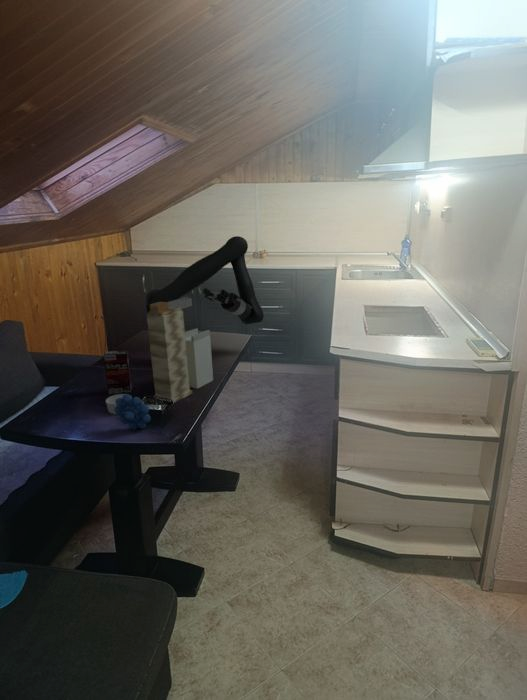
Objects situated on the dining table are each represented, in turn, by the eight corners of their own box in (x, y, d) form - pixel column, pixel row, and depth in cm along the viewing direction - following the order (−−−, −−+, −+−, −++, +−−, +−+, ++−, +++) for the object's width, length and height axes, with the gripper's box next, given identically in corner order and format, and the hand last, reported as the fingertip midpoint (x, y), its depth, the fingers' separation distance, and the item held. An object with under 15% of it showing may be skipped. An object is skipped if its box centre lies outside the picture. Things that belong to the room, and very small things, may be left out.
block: (159, 316, 161) (157, 305, 160) (150, 315, 163) (149, 304, 162) (192, 305, 176) (192, 295, 174) (185, 305, 177) (184, 295, 176)
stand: (172, 403, 169) (163, 314, 159) (153, 398, 174) (143, 311, 164) (192, 393, 178) (185, 307, 168) (173, 388, 183) (165, 305, 173)
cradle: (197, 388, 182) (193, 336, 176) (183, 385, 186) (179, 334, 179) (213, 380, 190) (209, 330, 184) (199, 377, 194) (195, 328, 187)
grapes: (111, 434, 147) (106, 399, 144) (120, 425, 154) (115, 391, 150) (147, 435, 146) (142, 400, 142) (154, 425, 152) (150, 391, 149)
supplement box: (108, 394, 179) (102, 355, 174) (109, 390, 184) (104, 351, 179) (131, 392, 181) (126, 353, 176) (132, 387, 185) (127, 349, 180)
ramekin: (122, 416, 160) (121, 405, 159) (101, 413, 163) (99, 402, 162) (138, 406, 168) (136, 395, 167) (117, 403, 171) (116, 392, 170)
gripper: (245, 313, 197) (225, 301, 183) (218, 311, 204) (196, 298, 190) (249, 296, 198) (229, 283, 184) (222, 294, 205) (200, 281, 191)
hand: (212, 291), depth 187 cm, fingers open, 8 cm apart
